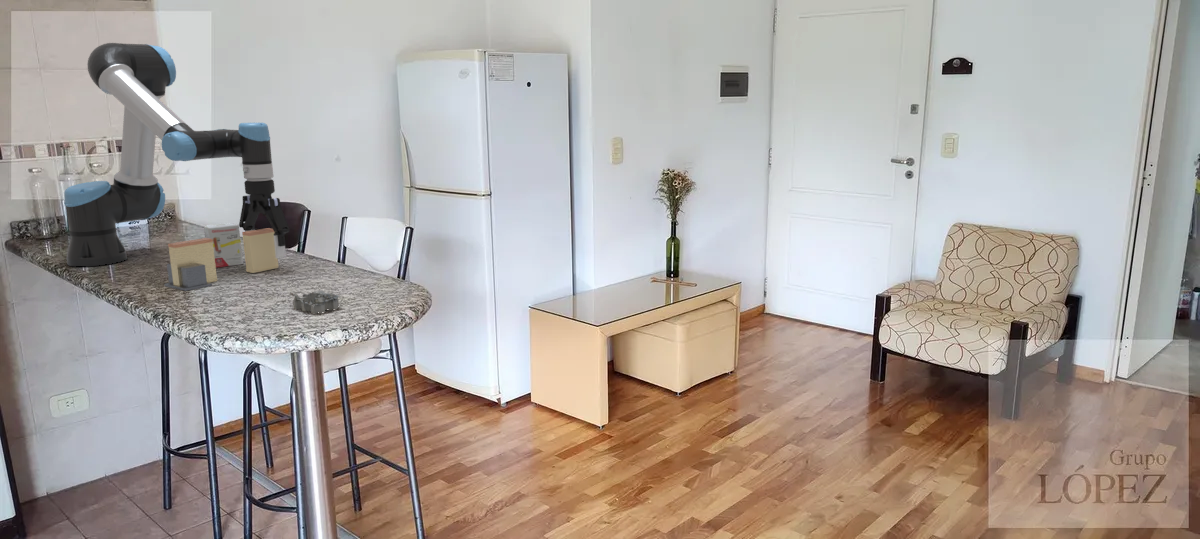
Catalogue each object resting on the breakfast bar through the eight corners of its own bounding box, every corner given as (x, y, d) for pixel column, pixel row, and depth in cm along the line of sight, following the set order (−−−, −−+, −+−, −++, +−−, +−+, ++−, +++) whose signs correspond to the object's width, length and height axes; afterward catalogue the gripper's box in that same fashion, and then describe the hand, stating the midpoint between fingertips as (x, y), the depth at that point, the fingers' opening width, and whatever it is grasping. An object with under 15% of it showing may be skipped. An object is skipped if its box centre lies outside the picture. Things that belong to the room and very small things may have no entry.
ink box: (212, 268, 224) (207, 227, 221) (207, 265, 227) (202, 225, 225) (243, 264, 229) (239, 224, 227) (238, 261, 233) (234, 222, 230)
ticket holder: (164, 285, 203) (158, 242, 201) (203, 278, 212) (198, 236, 209) (185, 290, 198) (180, 246, 195) (224, 282, 206) (220, 240, 204)
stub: (246, 271, 218) (242, 232, 216) (272, 266, 225) (268, 227, 222) (253, 273, 217) (248, 233, 214) (278, 267, 223) (274, 228, 221)
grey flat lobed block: (288, 309, 181) (287, 292, 180) (317, 302, 187) (316, 285, 186) (315, 316, 175) (313, 299, 174) (344, 309, 181) (342, 292, 180)
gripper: (220, 178, 220) (228, 252, 225) (273, 183, 207) (281, 262, 211) (245, 175, 226) (252, 248, 231) (298, 180, 213) (305, 257, 217)
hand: (266, 255), depth 221 cm, fingers open, 13 cm apart
